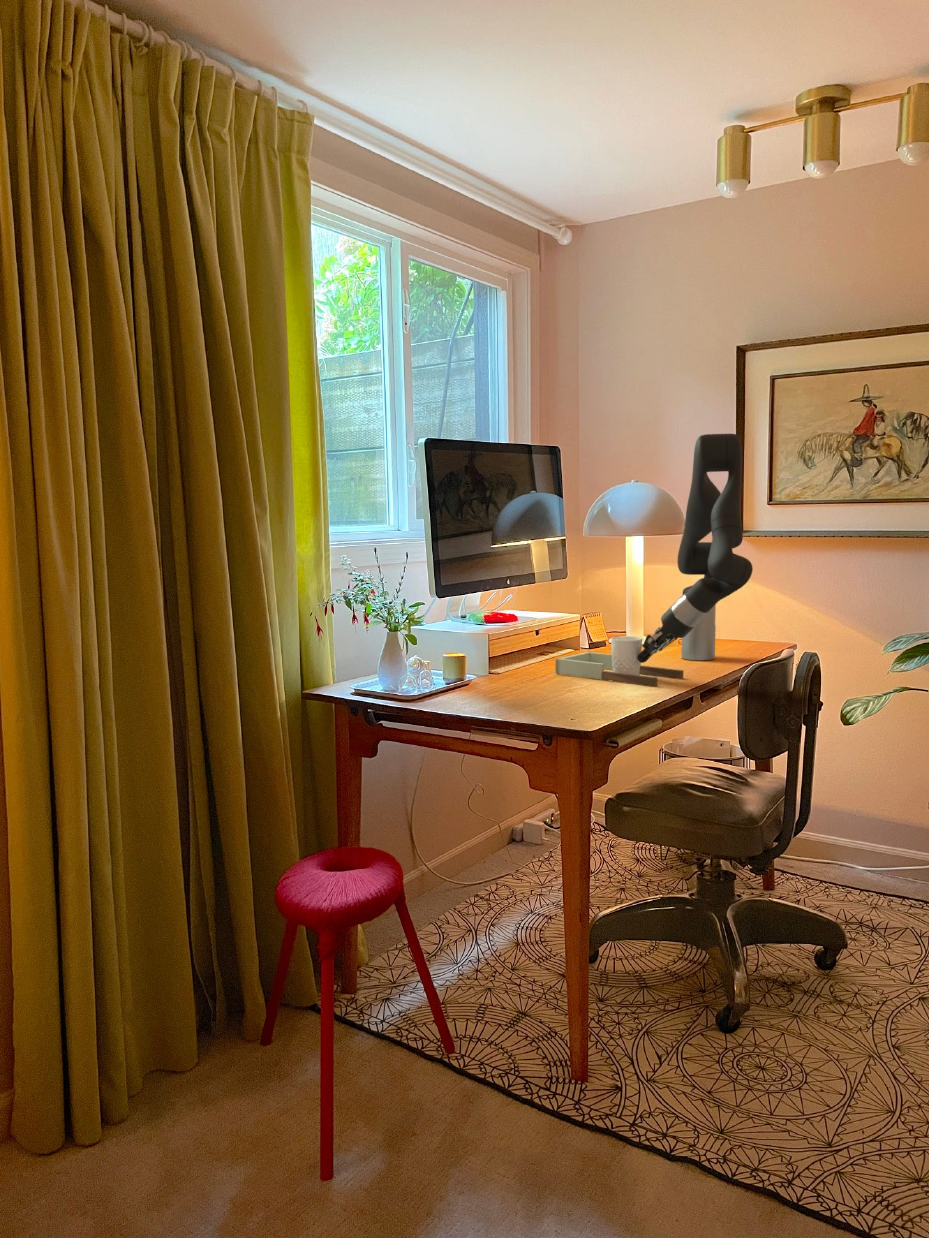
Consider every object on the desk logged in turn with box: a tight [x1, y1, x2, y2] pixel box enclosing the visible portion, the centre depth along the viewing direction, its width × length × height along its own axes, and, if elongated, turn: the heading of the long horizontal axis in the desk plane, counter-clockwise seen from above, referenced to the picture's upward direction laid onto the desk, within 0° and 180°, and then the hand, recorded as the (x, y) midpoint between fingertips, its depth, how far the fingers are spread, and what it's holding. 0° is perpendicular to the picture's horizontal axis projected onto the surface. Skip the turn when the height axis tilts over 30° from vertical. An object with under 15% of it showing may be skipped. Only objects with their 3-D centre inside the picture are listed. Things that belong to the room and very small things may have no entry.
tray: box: [555, 651, 613, 681], centre depth 248 cm, size 15×14×4 cm
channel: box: [601, 665, 684, 687], centre depth 239 cm, size 15×15×2 cm
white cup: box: [610, 635, 643, 675], centre depth 241 cm, size 8×8×10 cm
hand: (640, 659), depth 239 cm, fingers closed
